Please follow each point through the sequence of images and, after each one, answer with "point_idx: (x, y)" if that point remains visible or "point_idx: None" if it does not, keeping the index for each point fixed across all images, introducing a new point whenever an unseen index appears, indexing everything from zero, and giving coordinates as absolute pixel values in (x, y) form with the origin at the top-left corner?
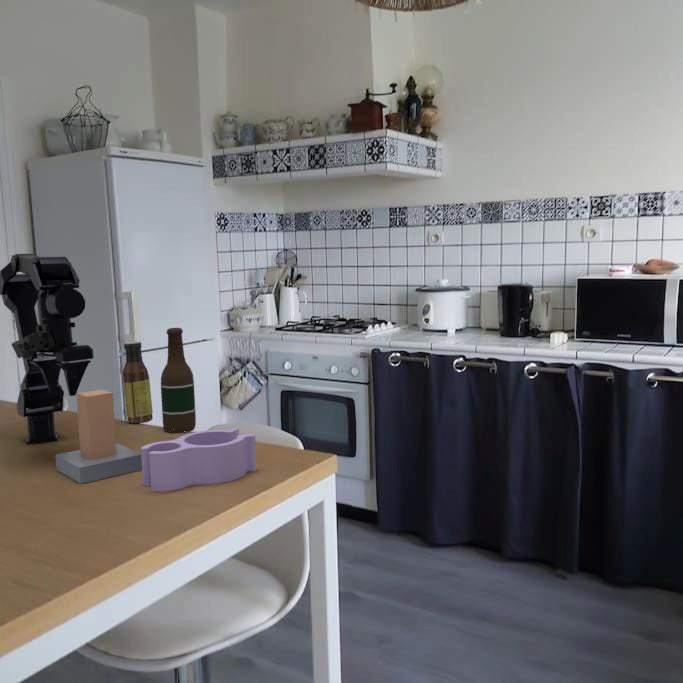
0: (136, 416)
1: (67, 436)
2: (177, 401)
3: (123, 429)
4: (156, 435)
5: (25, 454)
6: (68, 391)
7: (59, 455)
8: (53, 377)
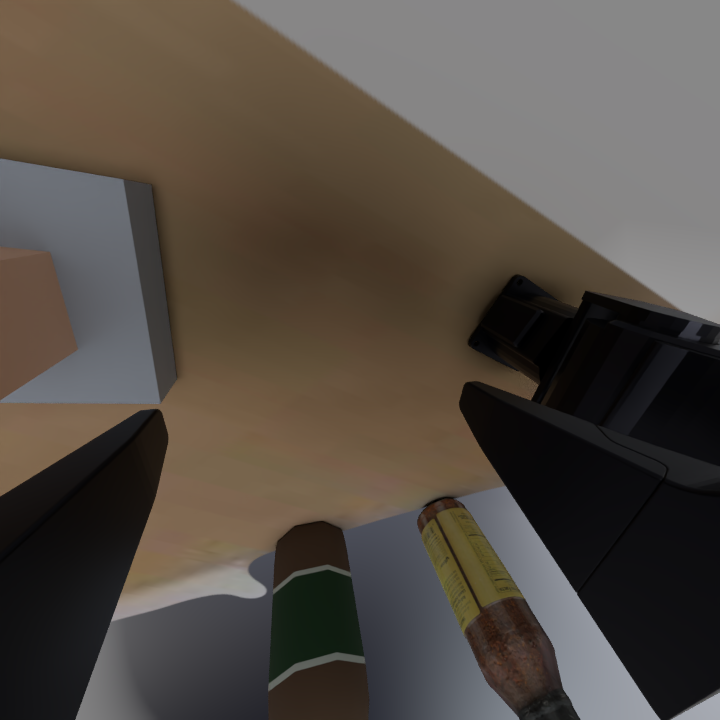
0: (432, 519)
1: (481, 377)
2: (280, 623)
3: (415, 475)
4: (306, 502)
5: (427, 217)
6: (140, 425)
7: (95, 183)
8: (535, 476)
